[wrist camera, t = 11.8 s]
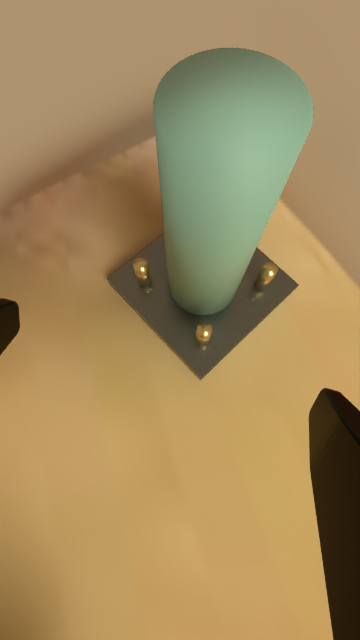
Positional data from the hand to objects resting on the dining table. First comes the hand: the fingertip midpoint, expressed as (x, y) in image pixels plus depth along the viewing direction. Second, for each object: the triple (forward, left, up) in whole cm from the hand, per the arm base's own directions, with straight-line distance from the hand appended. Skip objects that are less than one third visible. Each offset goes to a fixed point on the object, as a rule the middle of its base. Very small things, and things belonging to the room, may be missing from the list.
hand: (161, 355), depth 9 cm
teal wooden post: (+7, +4, -13) cm, 15 cm away
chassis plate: (+7, +4, -14) cm, 16 cm away
